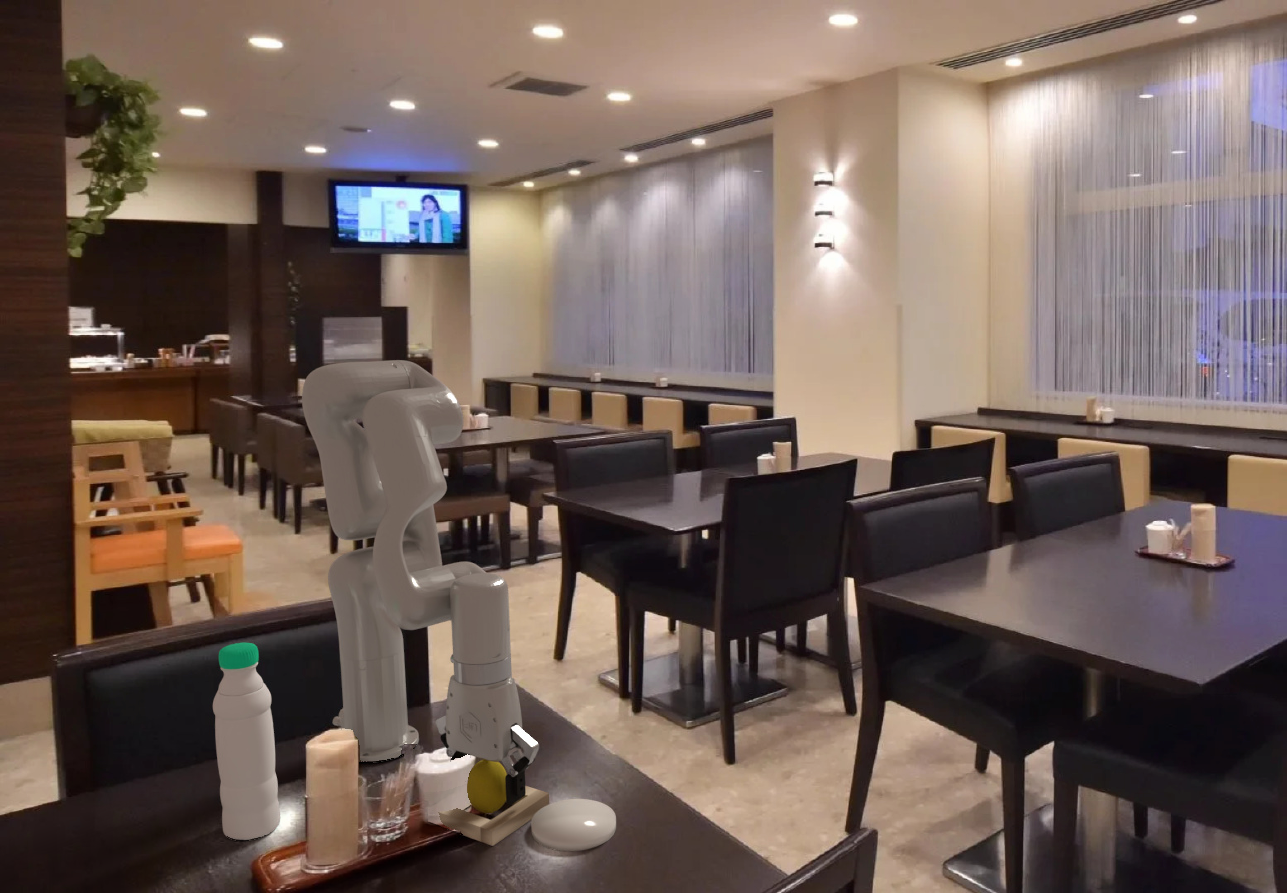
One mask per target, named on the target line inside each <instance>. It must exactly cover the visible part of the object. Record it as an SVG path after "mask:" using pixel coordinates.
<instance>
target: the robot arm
mask: <svg viewBox="0 0 1287 893" xmlns="http://www.w3.org/2000/svg"><path fill="white" fill-rule="evenodd" d="M301 405H302V411H303V415H304V418H305V422H306V425H307V427H308V431H309V432H310V434H311V436H312V439H313V440H314V441H313V442H314V443H315V446H316V449H317V451H318V454H319V460H320V466H321V474H322V481H323V487H324V488H323V489H324V492H325V493H324V494H325V499H326V506H327V512H328V519H329V521H330V526H331V528H332V532H333V533H334V535H335V536H336V537H338V539H341V540H344V541H360V540H366V539H372V538H374V542H373V546H369V547H364V548H358V549H355V550H351V551H349V552H346V553H343V554H342V555H340V556H339V557H337V558H336V559H335V560H334V561H333V562H332V564H331V565H330V566H329V570H328V574H327V579H328V580H327V582H328V589H329V593H330V596H331V600H332V604H333V608H334V612H335V618H336V623H337V624H336V625H337V633H338V634H337V635H338V644H339V645H338V647H339V662H340V672H341V673H340V675H341V676H340V678H341V688H342V690H341V691H342V692H341V693H342V706H343V707H342V709H339V710H340V711H339V713H338V716H334V717H333V719H332V724H333V725H334V726H337V727H341V729H342V728H345V729H351V730H353V732H354V735H355V736H356V737H357V738H358V740H359V745H360V760H361V762H362V761H363V762H364V761H366V762H367V761H379V760H386V761H388V760H387V759H390V760H392V759H391V758H394V759H396V758H399V756H400V755H401V750H402V746H403V745H404V744H417V745H418V744H419V741H420V738H419V732H418V730H417V729H416V728H415V727H413V726H412V725H409V723H408V722H409V720H408V706H407V704H408V702H407V687H406V686H407V685H406V682H407V681H406V668H405V652H404V649H405V647H404V638H403V637H404V636H403V633H402V630H407V631H414V630H418V629H423V628H427V627H430V626H434V625H437V624H441V623H446V622H449V621H451V642H452V654H451V656H450V663H452V664H453V674H452V675H451V676H450V678H449V682H448V685H447V694H446V704H445V705H446V706H445V710H446V711H445V715H444V716H441V717H439V718H437V719H436V720H435V726H436V728H437V730H438V733H439V734H440V737H439V738H440V741H441V743H442V744H443V745H444V748H446V751H445V753H446V755H447V757H448V758H450V761H451V760H454V759H455V758H461V757H463V756H465V755H467V754H468V755H470V756H472V757H475V758H478V759H481V760H484V759H485V760H488V761H492V762H499V763H500V762H501V764H503V765H504V766H503V767H504V768H505V770H506V772H507V775H506V777H505V784H506V802H505V803H506V804H507V805H511V806H513V805H514V804H513V803H515V802H517V801H518V800H520V799H521V798H523V797H524V796H525V794H526V790H525V786H526V770H527V769H529V767H530V766H531V765H532V764H533V763H534V762H535V760H536V756H537V754H538V752H539V750H540V744H539V743H538V741H536V740H535V739H534V738H533V737H531V736H530V734H528V733H527V732H525V730H523V719H522V709H521V705H520V698H519V692H518V688H517V683H516V679H515V678H513V674H512V672H513V670H512V653H511V652H512V650H511V648H512V647H511V646H512V645H511V624H510V622H511V620H510V600H509V597H510V596H509V586H508V583H507V581H506V579H505V578H504V577H502V576H501V575H500V574H499V575H498V574H495V573H490V572H489V573H488V572H486V571H485V570H484V569H483V568H482V567H481V566H479V565H477V563H473V562H471V561H459V562H458V561H457V562H453V563H448V564H445V565H443V562H442V561H443V560H442V554H441V548H440V540H439V539H440V538H439V534H438V527H437V519H436V515H435V514H436V513H435V509H434V508H435V507H434V504H436V503H437V502H438V501H440V500H441V499H442V498H443V497H444V496H445V494H446V492H447V490H448V486H447V481H446V478H445V476H444V473H443V470H442V469H443V468H442V466H441V463H440V460H439V457H438V453H437V451H436V449H435V448H436V447H435V445H440V444H442V445H443V444H448V443H451V442H452V443H453V442H454V441H456V440H457V439H458V438H459V437H460V436H461V434H462V431H463V427H464V422H465V421H464V414H463V409H462V406H461V404H460V402H459V400H458V398H457V397H456V395H455V394H454V393H453V392H452V390H451V389H450V388H448V386H447V385H446V384H445V383H443V382H442V381H441V380H440V379H438V378H437V377H436V376H434V375H433V374H431V373H430V372H428V371H427V370H426V369H424V368H423V367H421V366H420V365H419V364H417V363H415V362H412V361H409V360H400V359H396V360H395V359H394V360H391V359H390V360H375V361H373V360H372V361H350V362H347V361H346V362H339V363H332V364H327V365H323V366H320V367H317V368H315V369H314V370H312V371H311V372H310V373H308V375H307V376H306V378H305V380H304V382H303V386H302V393H301ZM358 419H361V420H362V421H361V422H362V426H363V427H362V426H361V425H360V424H359V423H357V421H356V420H358ZM522 749H523V751H522ZM511 756H512V757H513V758H514V759H515V761H516V762H515V763H514V761H513V759H512V757H511ZM400 757H401V756H400ZM451 757H452V758H451Z"/></svg>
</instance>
